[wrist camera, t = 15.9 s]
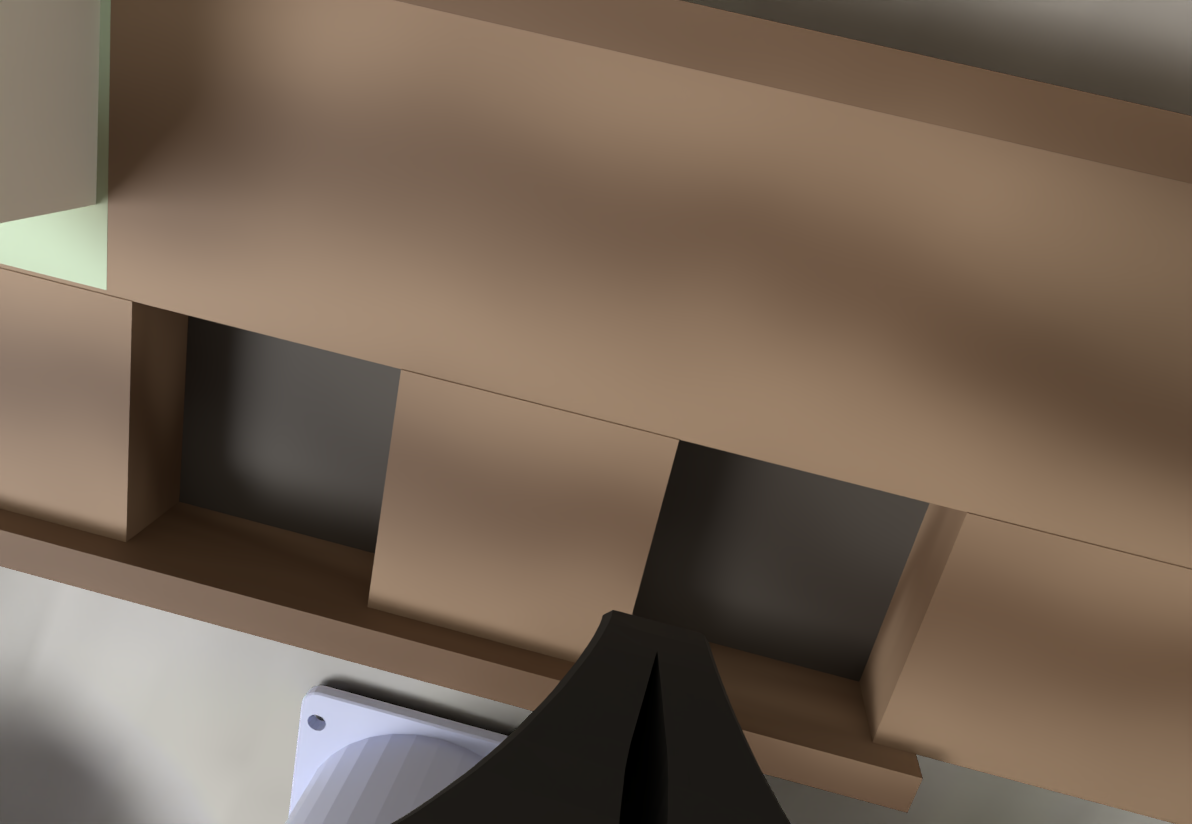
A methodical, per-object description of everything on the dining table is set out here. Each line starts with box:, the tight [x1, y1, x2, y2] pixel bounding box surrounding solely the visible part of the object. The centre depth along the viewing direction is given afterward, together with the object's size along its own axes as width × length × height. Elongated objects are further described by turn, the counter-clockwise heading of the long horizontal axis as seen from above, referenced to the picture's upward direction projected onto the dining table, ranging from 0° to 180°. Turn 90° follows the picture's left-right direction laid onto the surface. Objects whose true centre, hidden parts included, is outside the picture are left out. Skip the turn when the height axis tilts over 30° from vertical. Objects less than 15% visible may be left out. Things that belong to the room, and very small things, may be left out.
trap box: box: [0, 0, 1192, 824], centre depth 19 cm, size 15×34×3 cm, turn 78°
